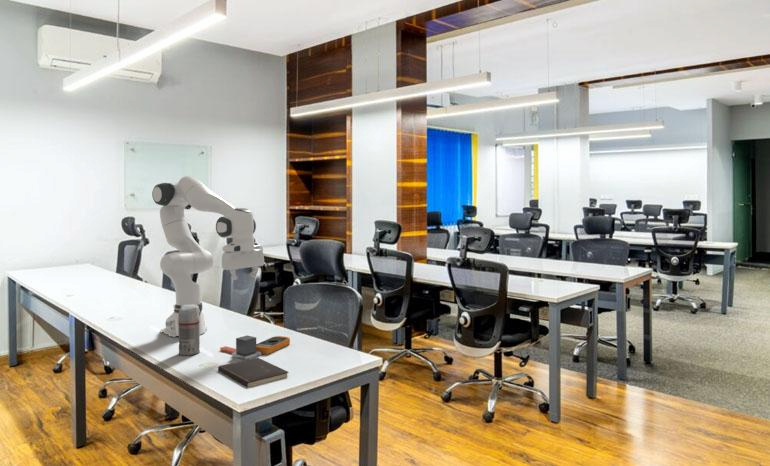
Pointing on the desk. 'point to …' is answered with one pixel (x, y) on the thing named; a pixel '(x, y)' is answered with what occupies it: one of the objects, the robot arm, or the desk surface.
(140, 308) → the desk surface
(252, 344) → the brushed metal cube
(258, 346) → the multimeter
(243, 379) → the hardcover book
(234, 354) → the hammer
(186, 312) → the spray can
